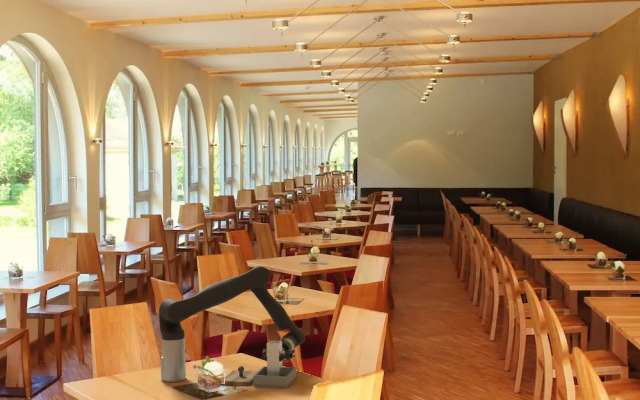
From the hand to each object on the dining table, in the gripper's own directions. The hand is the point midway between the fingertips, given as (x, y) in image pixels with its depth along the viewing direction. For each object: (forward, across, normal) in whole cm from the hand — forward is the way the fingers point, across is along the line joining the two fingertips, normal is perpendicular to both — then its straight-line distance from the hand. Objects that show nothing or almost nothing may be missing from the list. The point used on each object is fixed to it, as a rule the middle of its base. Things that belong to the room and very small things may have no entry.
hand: (272, 358), depth 308 cm
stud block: (-5, -15, +10) cm, 19 cm away
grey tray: (-3, 0, +10) cm, 11 cm away
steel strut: (-3, 0, +8) cm, 8 cm away
